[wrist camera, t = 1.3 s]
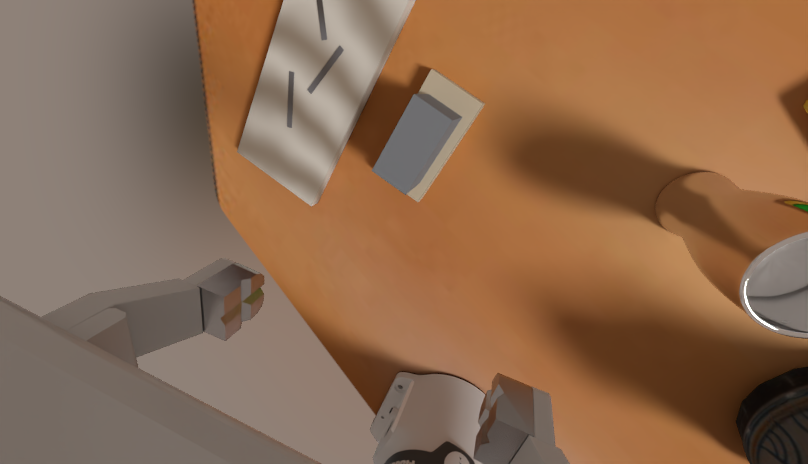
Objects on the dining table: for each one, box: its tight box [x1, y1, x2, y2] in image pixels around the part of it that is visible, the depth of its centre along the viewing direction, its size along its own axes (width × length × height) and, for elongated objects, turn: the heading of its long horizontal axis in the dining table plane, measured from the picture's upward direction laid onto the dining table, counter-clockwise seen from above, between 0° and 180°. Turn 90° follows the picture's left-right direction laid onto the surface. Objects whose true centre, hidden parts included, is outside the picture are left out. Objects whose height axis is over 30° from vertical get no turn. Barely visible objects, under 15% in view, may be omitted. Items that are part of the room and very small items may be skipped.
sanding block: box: [372, 69, 485, 202], centre depth 33 cm, size 12×6×7 cm, turn 149°
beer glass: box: [655, 172, 808, 339], centre depth 24 cm, size 7×7×15 cm
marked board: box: [237, 0, 416, 206], centre depth 36 cm, size 30×12×2 cm, turn 149°
